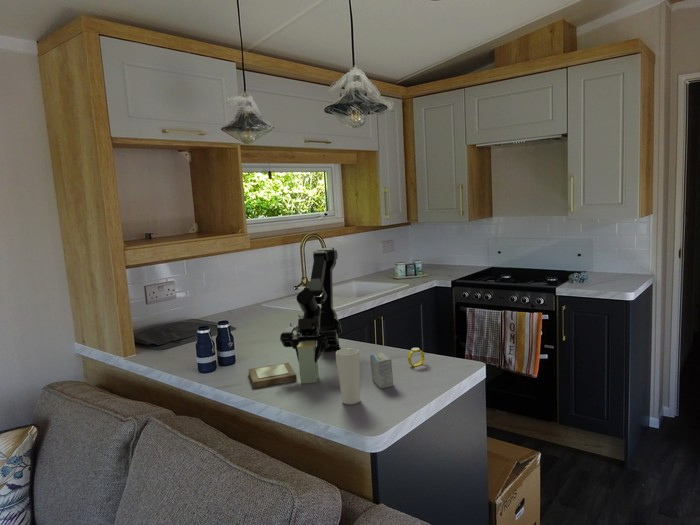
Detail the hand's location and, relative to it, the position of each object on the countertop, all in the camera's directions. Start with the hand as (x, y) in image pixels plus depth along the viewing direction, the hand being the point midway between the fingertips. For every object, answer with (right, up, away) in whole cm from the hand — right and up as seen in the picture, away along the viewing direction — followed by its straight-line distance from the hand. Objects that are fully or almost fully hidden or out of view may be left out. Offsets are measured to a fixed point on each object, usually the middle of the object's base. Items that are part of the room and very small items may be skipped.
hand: (307, 362), depth 170 cm
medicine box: (+24, -6, -5) cm, 25 cm away
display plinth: (-12, -7, +8) cm, 16 cm away
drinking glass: (+14, -8, -18) cm, 24 cm away
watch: (+36, -3, +9) cm, 37 cm away
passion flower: (-6, 0, +56) cm, 57 cm away
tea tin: (+1, -6, +2) cm, 7 cm away
